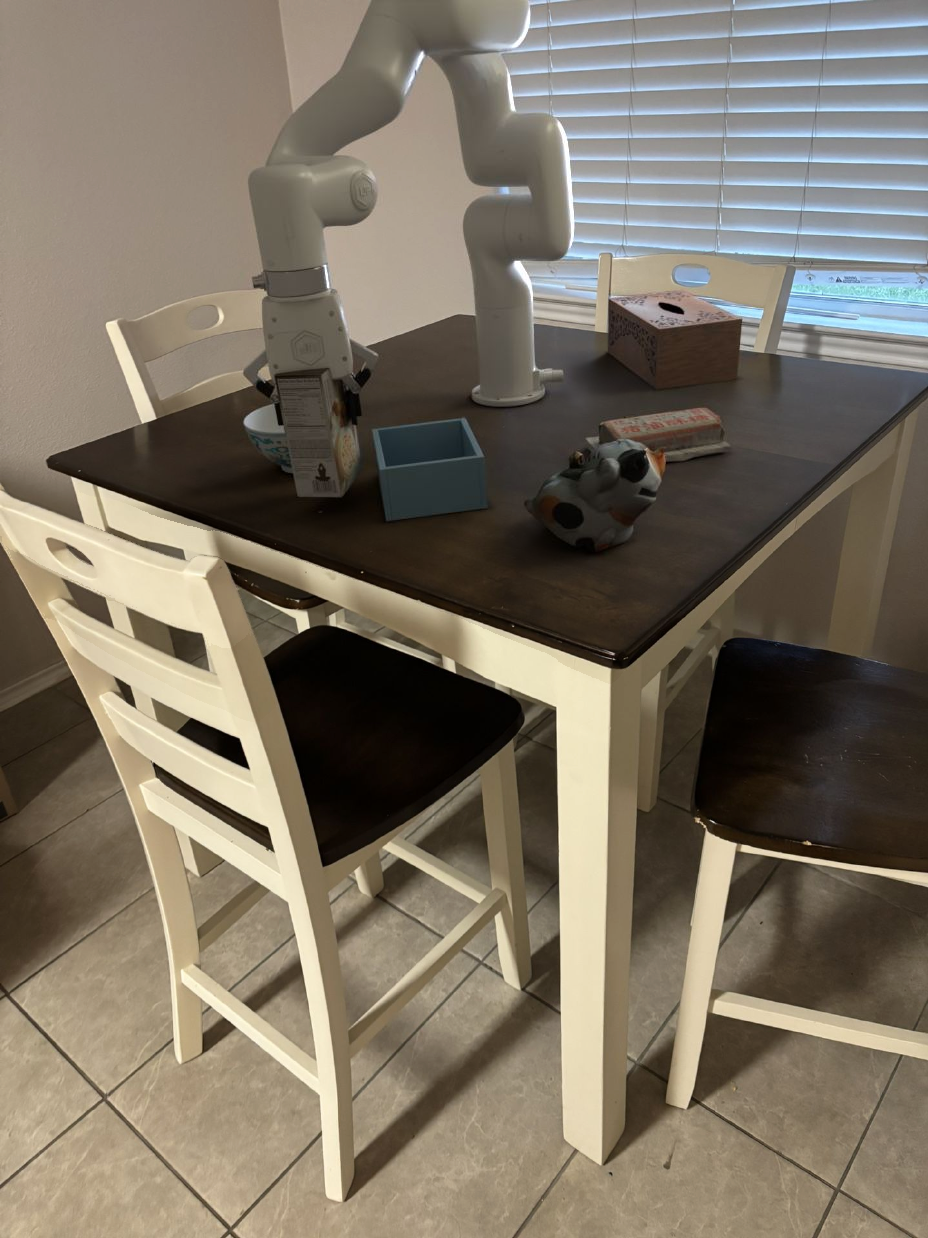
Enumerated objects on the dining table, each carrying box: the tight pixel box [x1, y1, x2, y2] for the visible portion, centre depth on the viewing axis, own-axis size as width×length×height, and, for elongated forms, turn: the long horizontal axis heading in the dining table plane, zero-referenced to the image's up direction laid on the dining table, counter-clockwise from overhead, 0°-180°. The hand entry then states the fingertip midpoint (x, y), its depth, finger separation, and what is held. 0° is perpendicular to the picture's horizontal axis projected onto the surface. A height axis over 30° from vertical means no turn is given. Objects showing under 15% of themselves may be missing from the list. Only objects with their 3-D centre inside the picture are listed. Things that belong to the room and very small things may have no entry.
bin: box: [371, 417, 488, 522], centre depth 119 cm, size 13×16×7 cm
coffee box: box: [274, 368, 364, 498], centre depth 114 cm, size 9×6×16 cm
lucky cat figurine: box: [523, 439, 667, 553], centre depth 103 cm, size 15×12×14 cm
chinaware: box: [242, 403, 293, 474], centre depth 131 cm, size 15×15×8 cm
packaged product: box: [585, 407, 732, 462], centre depth 126 cm, size 18×5×10 cm
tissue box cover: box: [607, 289, 743, 391], centre depth 160 cm, size 26×14×10 cm, turn 11°
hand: (321, 425), depth 114 cm, fingers closed on coffee box, 8 cm apart
